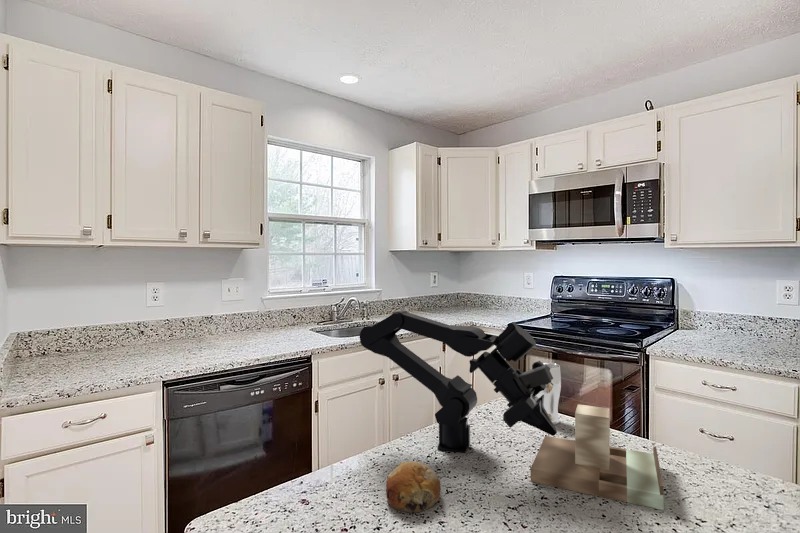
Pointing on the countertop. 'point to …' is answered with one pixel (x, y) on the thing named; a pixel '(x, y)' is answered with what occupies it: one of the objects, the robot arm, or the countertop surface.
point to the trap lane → (601, 473)
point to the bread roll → (412, 487)
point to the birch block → (592, 436)
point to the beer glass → (552, 393)
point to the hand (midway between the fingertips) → (555, 434)
